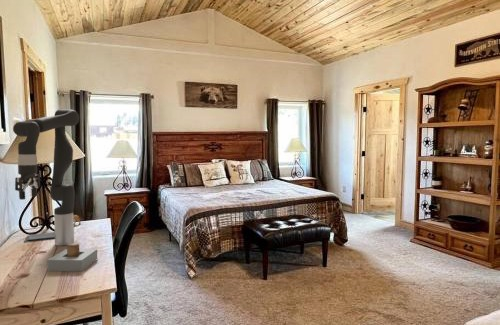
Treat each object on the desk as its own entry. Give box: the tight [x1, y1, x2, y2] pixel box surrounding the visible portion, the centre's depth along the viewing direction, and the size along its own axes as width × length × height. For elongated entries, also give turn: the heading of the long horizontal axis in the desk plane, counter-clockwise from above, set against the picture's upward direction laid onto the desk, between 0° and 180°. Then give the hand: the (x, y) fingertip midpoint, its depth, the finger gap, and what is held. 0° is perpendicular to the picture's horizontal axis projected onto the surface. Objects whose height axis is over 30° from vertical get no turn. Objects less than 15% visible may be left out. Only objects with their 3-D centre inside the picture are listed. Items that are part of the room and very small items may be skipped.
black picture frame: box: [23, 231, 55, 244], centre depth 194 cm, size 20×2×15 cm
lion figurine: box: [73, 214, 81, 226], centre depth 221 cm, size 15×5×9 cm, turn 157°
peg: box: [66, 242, 80, 257], centre depth 151 cm, size 5×5×10 cm
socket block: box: [46, 248, 98, 272], centre depth 151 cm, size 15×15×5 cm
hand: (28, 197), depth 155 cm, fingers open, 8 cm apart
